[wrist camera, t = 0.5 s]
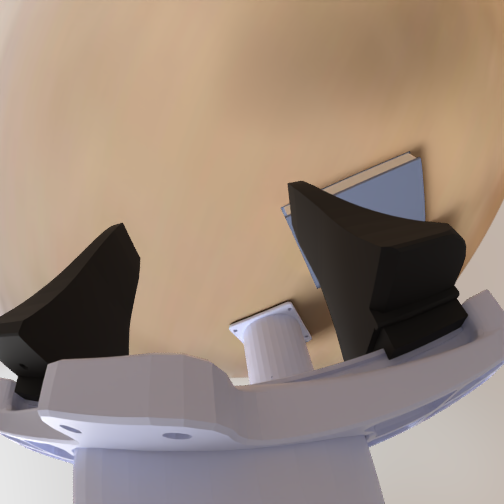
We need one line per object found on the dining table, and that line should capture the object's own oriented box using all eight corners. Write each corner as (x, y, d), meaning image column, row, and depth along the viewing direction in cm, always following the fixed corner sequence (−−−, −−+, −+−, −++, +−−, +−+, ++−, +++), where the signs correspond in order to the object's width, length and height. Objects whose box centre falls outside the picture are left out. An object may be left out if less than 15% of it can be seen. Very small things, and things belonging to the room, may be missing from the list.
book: (415, 225, 27) (425, 235, 25) (311, 275, 29) (317, 288, 27) (408, 150, 21) (420, 158, 19) (279, 206, 23) (285, 218, 22)
